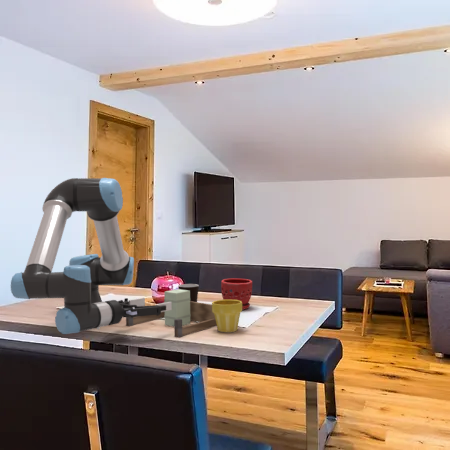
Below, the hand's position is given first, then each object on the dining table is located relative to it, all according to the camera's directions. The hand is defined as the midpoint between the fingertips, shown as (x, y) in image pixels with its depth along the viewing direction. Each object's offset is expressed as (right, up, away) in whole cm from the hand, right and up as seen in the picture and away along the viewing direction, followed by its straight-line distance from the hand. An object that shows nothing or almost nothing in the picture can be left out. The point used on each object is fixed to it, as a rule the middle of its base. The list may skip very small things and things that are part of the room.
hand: (157, 303), depth 159 cm
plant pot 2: (+24, -9, -2) cm, 26 cm away
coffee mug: (+9, -8, +36) cm, 38 cm away
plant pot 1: (+29, -8, +35) cm, 46 cm away
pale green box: (+6, -9, +8) cm, 13 cm away
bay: (+5, -9, +6) cm, 12 cm away
